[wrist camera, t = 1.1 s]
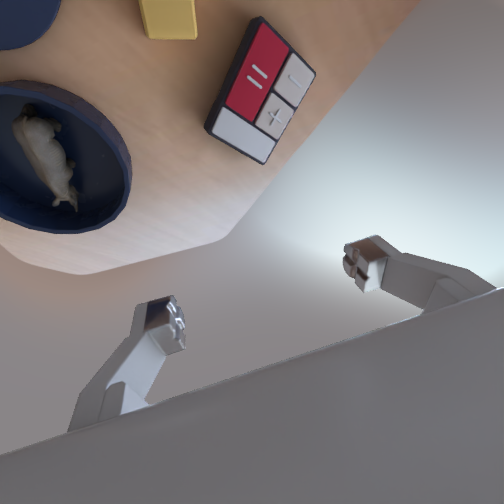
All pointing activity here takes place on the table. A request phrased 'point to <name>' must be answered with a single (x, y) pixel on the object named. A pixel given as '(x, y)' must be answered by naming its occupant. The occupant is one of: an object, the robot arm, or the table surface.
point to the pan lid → (25, 21)
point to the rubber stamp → (169, 19)
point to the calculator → (259, 93)
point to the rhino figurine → (46, 153)
